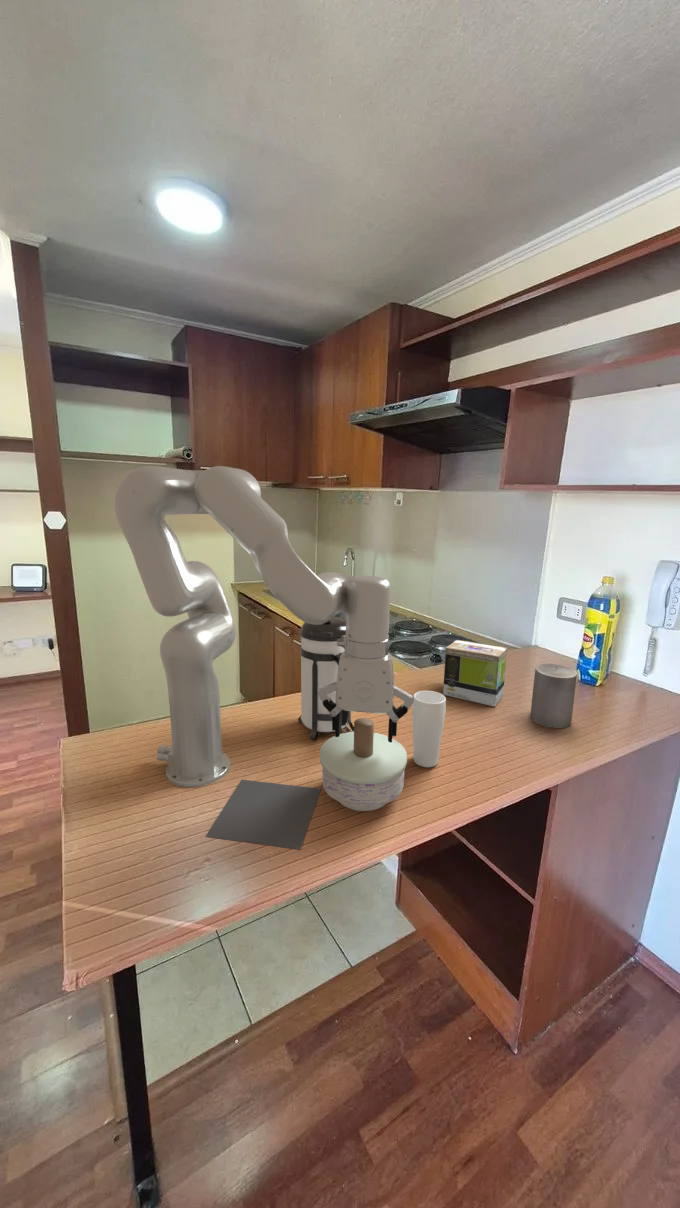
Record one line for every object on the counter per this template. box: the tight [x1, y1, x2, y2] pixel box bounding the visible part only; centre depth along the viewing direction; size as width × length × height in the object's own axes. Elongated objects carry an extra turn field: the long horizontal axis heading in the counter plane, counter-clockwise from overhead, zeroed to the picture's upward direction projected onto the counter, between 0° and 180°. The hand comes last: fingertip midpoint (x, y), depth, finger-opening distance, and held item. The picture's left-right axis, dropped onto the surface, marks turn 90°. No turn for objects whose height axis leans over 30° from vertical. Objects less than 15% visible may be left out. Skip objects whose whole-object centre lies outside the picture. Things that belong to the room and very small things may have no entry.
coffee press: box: [297, 616, 354, 742], centre depth 108 cm, size 17×16×30 cm
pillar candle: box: [529, 663, 578, 729], centre depth 117 cm, size 10×10×15 cm
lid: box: [319, 717, 408, 784], centre depth 84 cm, size 16×16×7 cm
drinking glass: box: [411, 690, 447, 768], centre depth 97 cm, size 7×7×15 cm
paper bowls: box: [321, 767, 405, 812], centre depth 86 cm, size 15×15×8 cm
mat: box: [205, 779, 322, 851], centre depth 82 cm, size 16×16×1 cm
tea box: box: [442, 639, 508, 708], centre depth 131 cm, size 15×10×15 cm, turn 58°
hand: (364, 736), depth 84 cm, fingers open, 9 cm apart
